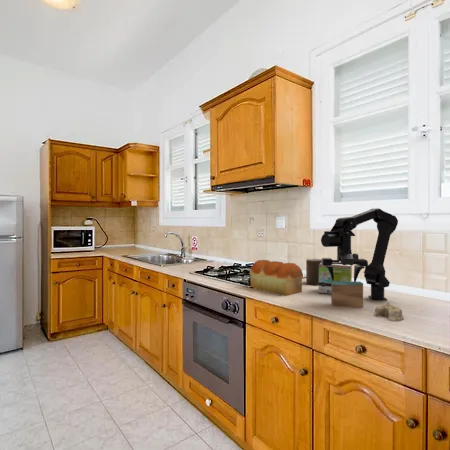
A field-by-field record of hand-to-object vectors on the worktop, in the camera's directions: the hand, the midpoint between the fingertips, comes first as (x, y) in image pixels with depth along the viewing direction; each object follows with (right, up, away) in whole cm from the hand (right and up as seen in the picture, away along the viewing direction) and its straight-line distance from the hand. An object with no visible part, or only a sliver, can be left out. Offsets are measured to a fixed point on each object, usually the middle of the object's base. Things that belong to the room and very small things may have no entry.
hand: (343, 281), depth 141 cm
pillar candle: (-1, -9, +42) cm, 43 cm away
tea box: (+3, -9, +19) cm, 22 cm away
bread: (-26, -9, +25) cm, 37 cm away
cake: (+9, -10, -21) cm, 25 cm away
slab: (-1, -9, -6) cm, 11 cm away
